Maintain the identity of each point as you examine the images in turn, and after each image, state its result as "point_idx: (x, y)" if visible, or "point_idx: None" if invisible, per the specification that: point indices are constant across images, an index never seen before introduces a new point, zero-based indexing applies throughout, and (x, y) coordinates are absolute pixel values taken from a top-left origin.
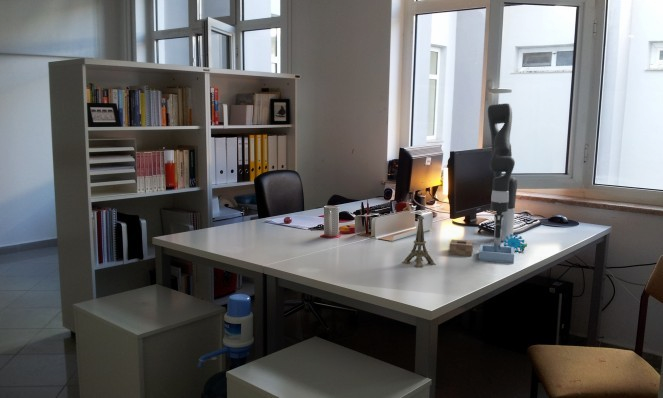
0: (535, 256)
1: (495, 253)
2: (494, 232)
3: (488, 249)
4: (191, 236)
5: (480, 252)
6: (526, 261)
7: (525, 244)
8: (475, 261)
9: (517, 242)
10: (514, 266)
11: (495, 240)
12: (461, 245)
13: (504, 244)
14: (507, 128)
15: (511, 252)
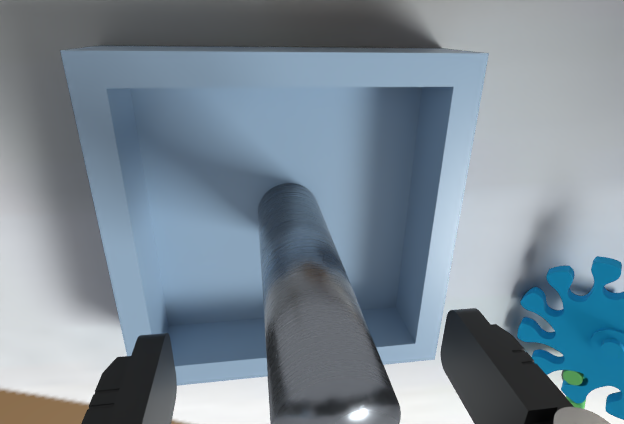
0: (421, 420)
1: (104, 239)
2: (316, 339)
3: (425, 140)
4: None
5: (70, 69)
6: (258, 393)
7: (575, 406)
8: (22, 11)
9: (608, 367)
10: (49, 345)
11: (269, 283)
12: None
13: (604, 269)
14: None
15: (207, 364)
